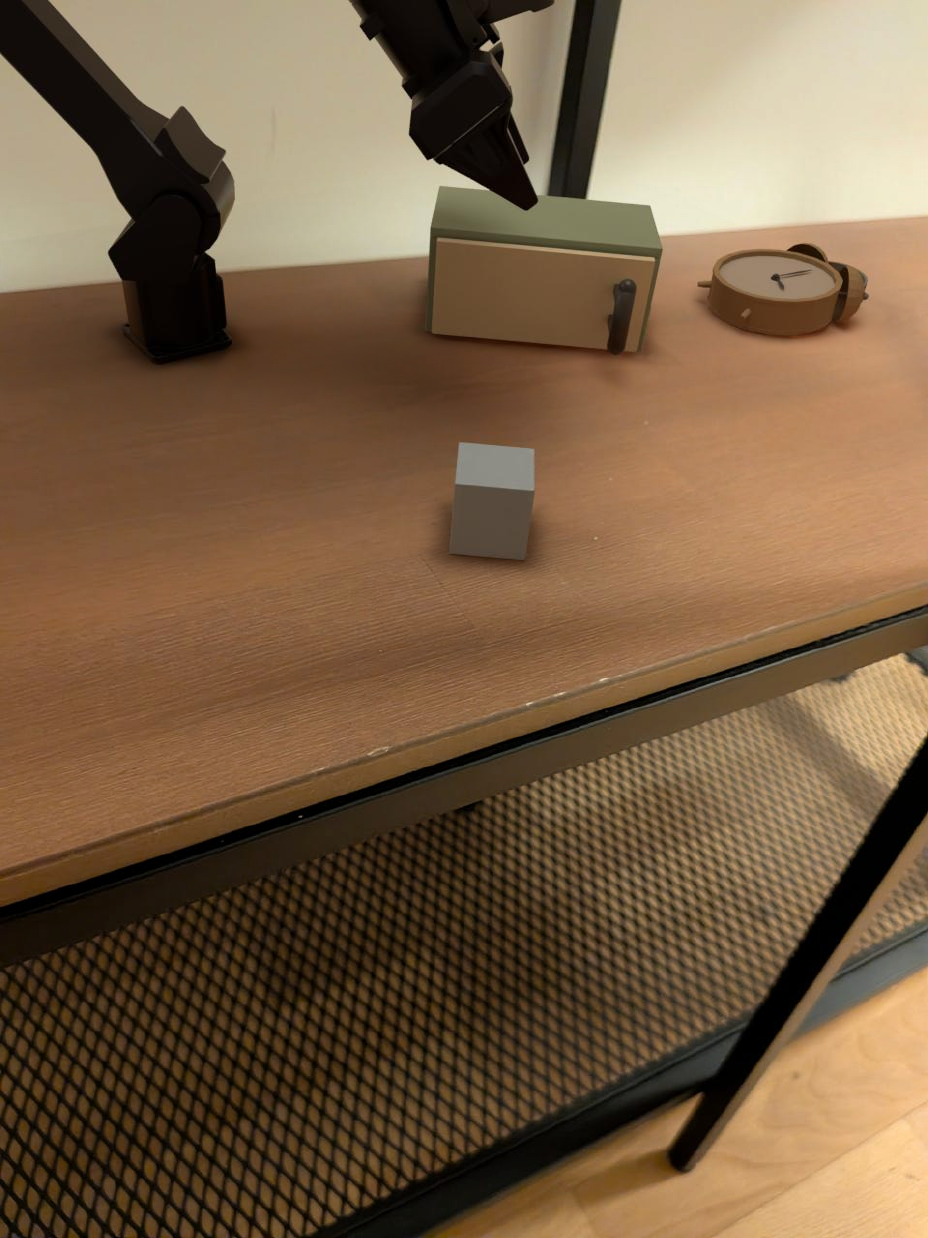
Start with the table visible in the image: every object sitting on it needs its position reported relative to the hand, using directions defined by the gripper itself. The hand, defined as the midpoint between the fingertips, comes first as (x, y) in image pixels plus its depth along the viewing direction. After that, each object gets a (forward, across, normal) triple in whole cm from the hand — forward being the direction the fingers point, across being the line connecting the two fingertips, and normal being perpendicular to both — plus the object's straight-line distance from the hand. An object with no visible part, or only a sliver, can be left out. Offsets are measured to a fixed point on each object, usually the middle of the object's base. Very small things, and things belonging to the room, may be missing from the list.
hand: (528, 183), depth 67 cm
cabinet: (+12, +9, +7) cm, 16 cm away
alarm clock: (+27, +14, -11) cm, 32 cm away
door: (+11, 0, +7) cm, 13 cm away
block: (+9, -24, +11) cm, 27 cm away
